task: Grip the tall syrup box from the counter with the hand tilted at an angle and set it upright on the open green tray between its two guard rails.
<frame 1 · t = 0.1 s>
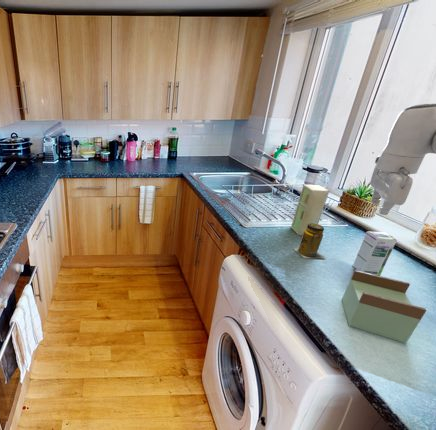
hand: (378, 208, 88), 26 cm above the worktop, tool pointing down, fingers open, 8 cm apart
condiment: (308, 254, 112), on the worktop
syrup box: (365, 271, 102), on the worktop
open green tray: (370, 319, 80), on the worktop
toy refrigerator: (300, 232, 128), on the worktop
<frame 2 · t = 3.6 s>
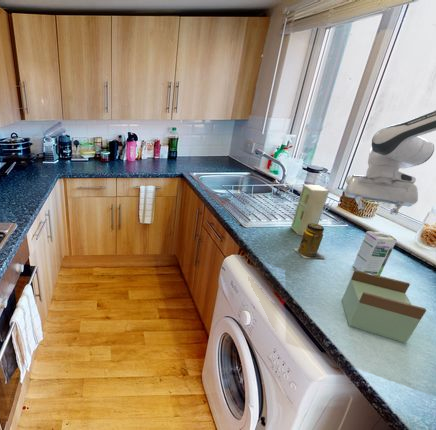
hand: (377, 211, 104), 19 cm above the worktop, tool tilted 45°, fingers open, 8 cm apart
nothing on the worktop moved.
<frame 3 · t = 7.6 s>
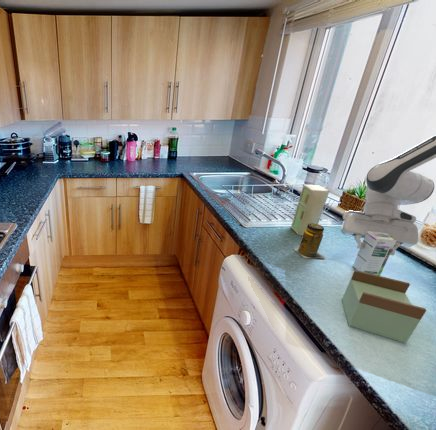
hand: (375, 251, 98), 8 cm above the worktop, tool tilted 45°, fingers closed on syrup box, 7 cm apart
syrup box: (365, 271, 102), on the worktop, touching gripper
everything else where it was.
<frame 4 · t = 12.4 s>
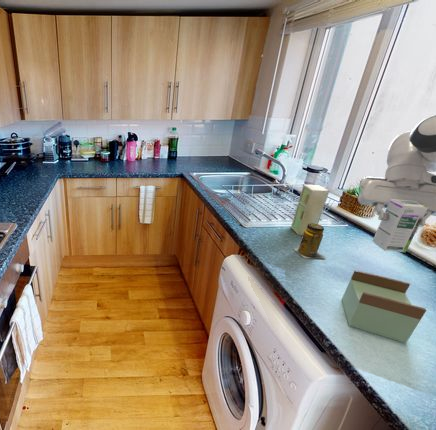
hand: (400, 222, 82), 24 cm above the worktop, tool tilted 45°, fingers closed on syrup box, 7 cm apart
syrup box: (387, 247, 86), point 16 cm above the worktop, touching gripper
everything else where it was.
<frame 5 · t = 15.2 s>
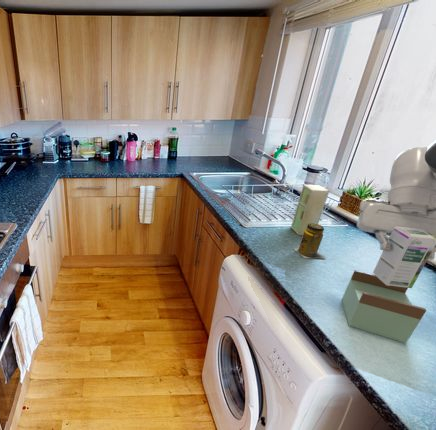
hand: (406, 254, 71), 22 cm above the worktop, tool tilted 45°, fingers closed on syrup box, 7 cm apart
syrup box: (390, 280, 75), point 13 cm above the worktop, touching gripper
everything else where it was.
when the fingers open (16 cm above the worktop, at t = 17.4 s): syrup box stays where it is, resting on open green tray.
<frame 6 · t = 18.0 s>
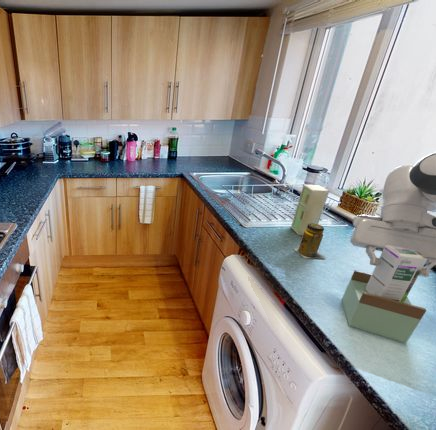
hand: (398, 270, 73), 17 cm above the worktop, tool tilted 45°, fingers open, 8 cm apart
syrup box: (382, 297, 77), point 8 cm above the worktop, touching open green tray
everything else where it was.
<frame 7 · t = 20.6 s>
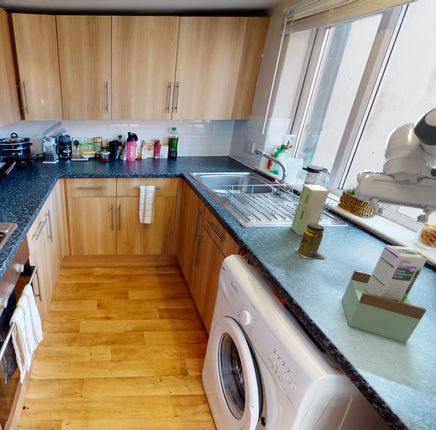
hand: (399, 218, 78), 27 cm above the worktop, tool tilted 45°, fingers open, 8 cm apart
nothing on the worktop moved.
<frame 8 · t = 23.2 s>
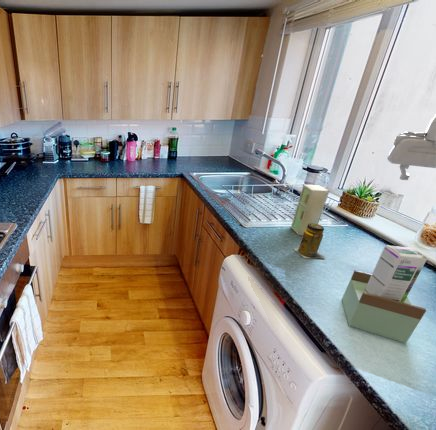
hand: (424, 182, 85), 34 cm above the worktop, tool pointing down, fingers open, 8 cm apart
nothing on the worktop moved.
at the end: syrup box inside the target area on the open green tray (0.0 cm from its centre), point 7.8 cm above the open green tray's base; syrup box tilted 0° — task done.
